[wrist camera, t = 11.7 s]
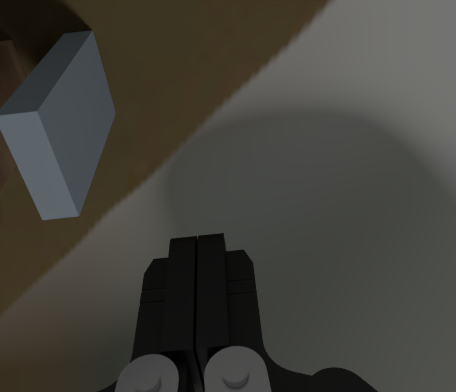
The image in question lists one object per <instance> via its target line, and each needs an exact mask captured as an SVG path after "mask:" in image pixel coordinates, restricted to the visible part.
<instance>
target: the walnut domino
mask: <svg viewBox="0 0 456 392" xmlns="http://www.w3.org/2000/svg"><path fill="white" fill-rule="evenodd" d="M26 78H27V76H26V73H25V71H24V68H23V66H22V63H21V61H20V58H19V56H18V53H17V51H16V48H15V46H14V43H13V41H12V39H11V40H3V41H0V108H1V107H2V106H3V105H4V104H5V102H6V101H7V100H8V99H9V98H10V97H11V95H12V94H13V93H14V92H15V91H16V90H17V88H18V87H19V86H20V85H21V84H22V82H23V81H24V80H25V79H26ZM16 165H17V164H16V162H15V160H14V158H13V156H12V154H11V151H10V149H9V147H8V145H7V143H6V141H5V139H4V137H3V134H2V132H1V130H0V190H1V188H2V187H3V185H4V184H5V182H6V181H7V179H8V177H9V176H10V174H11V173H12V171H13V169H14V168H15V166H16Z"/></svg>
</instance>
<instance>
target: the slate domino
mask: <svg viewBox="0 0 456 392" xmlns="http://www.w3.org/2000/svg"><path fill="white" fill-rule="evenodd" d="M115 114H116V112H115V109H114V105H113V101H112V98H111V94H110V91H109V87H108V84H107V80H106V76H105V73H104V69H103V66H102V62H101V58H100V55H99V51H98V48H97V44H96V40H95V37H94V33H93V30H91V31H83V32H74V33H65V34H63V35H62V37H61V38H60V39H59V40H58V41H57V42H56V44H55V45H54V46H53V47H52V48H51V49H50V51H49V52H48V53H47V54H46V55H45V57H44V58H43V59H42V60H41V61H40V62H39V64H38V65H37V66H36V67H35V68H34V69H33V71H32V72H31V73H30V74H29V75H28V77H27V78H26V79H25V80H24V81H23V82H22V84H21V85H20V86H19V87H18V88H17V90H16V91H15V92H14V93H13V94H12V95H11V97H10V98H9V99H8V100H7V101H6V102H5V104H4V105H3V106H2V107H1V108H0V130H1V132H2V134H3V137H4V139H5V141H6V143H7V145H8V147H9V149H10V151H11V154H12V156H13V158H14V160H15V162H16V164H17V166H18V169H19V171H20V173H21V175H22V177H23V179H24V181H25V184H26V186H27V188H28V190H29V192H30V194H31V196H32V198H33V201H34V203H35V205H36V207H37V209H38V211H39V213H40V216H41V218H42V220H48V219H57V218H67V217H76V216H79V215H80V212H81V209H82V206H83V203H84V201H85V198H86V195H87V192H88V189H89V187H90V184H91V181H92V178H93V175H94V173H95V170H96V167H97V164H98V161H99V159H100V156H101V153H102V150H103V147H104V145H105V142H106V139H107V136H108V133H109V130H110V128H111V125H112V122H113V119H114V116H115Z"/></svg>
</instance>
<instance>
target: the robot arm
mask: <svg viewBox="0 0 456 392" xmlns="http://www.w3.org/2000/svg"><path fill="white" fill-rule="evenodd" d="M98 392H377V391H376V390H375V389H374V388H373V387H372V386H370V385H369V384H368V383H367V382H365V381H364V380H363V379H361V378H360V377H359V376H358V375H356V374H355V373H353V372H351V371H349V370H346V369H342V368H326V369H323V370H320V371H318V372H317V373H315V374H314V375H313V376H310V375H306V374H301V373H297V372H293V371H289V370H286V369H284V368H282V367H280V366H279V365H277V364H276V363H275V362H274V361H273V360H272V359H271V358H270V357H269V356H268V354H267V352H266V351H265V348H264V345H263V339H262V333H261V323H260V315H259V307H258V300H257V291H256V283H255V275H254V267H253V262H252V261H251V259H250V258H249V257H248V255H247V254H246V252H245V251H244V250H236V251H226V245H225V238H224V233H220V234H210V235H201V236H198V239H197V236H192V237H183V238H173V239H171V240H170V246H169V257H168V258H159V259H153V261H152V262H151V264H150V266H149V267H148V269H147V270H146V272H145V273H144V278H143V285H142V293H141V299H140V306H139V312H138V319H137V326H136V333H135V340H134V346H133V353H132V358H131V361H130V363H129V364H128V365H127V367H125V368H124V370H123V371H122V373H121V375H120V376H119V378H118V380H117V381H116V382H114V383H113V384H112V385H110V386H108V387H107V388H105V389H103V390H101V391H98Z"/></svg>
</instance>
